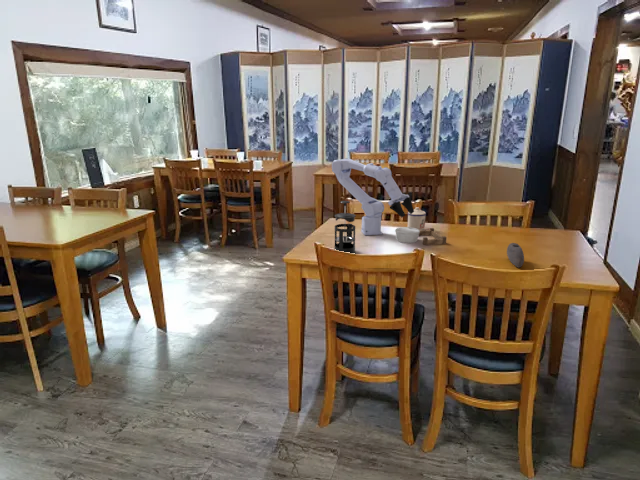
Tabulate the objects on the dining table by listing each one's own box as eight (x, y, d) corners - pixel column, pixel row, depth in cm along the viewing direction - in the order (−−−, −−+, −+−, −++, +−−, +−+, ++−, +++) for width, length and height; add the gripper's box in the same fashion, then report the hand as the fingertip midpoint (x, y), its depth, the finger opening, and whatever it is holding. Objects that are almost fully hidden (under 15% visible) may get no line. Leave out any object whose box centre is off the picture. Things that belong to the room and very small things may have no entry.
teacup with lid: (423, 232, 222) (424, 210, 219) (405, 230, 226) (406, 208, 222) (427, 226, 233) (428, 205, 229) (410, 225, 236) (411, 203, 233)
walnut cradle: (424, 245, 203) (424, 238, 202) (411, 235, 218) (412, 228, 217) (446, 243, 204) (446, 237, 203) (432, 234, 220) (432, 227, 219)
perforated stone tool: (526, 270, 170) (528, 253, 168) (511, 269, 172) (513, 252, 169) (518, 258, 184) (520, 242, 182) (505, 257, 185) (507, 241, 183)
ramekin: (423, 240, 210) (424, 229, 208) (410, 245, 202) (411, 234, 201) (403, 236, 217) (403, 225, 216) (390, 240, 210) (390, 230, 208)
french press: (350, 257, 186) (350, 204, 179) (329, 255, 190) (329, 202, 183) (359, 250, 196) (360, 199, 190) (340, 247, 200) (340, 197, 194)
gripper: (389, 188, 201) (405, 214, 199) (407, 183, 211) (422, 207, 209) (379, 196, 207) (394, 221, 204) (397, 190, 216) (412, 214, 214)
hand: (408, 214), depth 207 cm, fingers open, 7 cm apart
